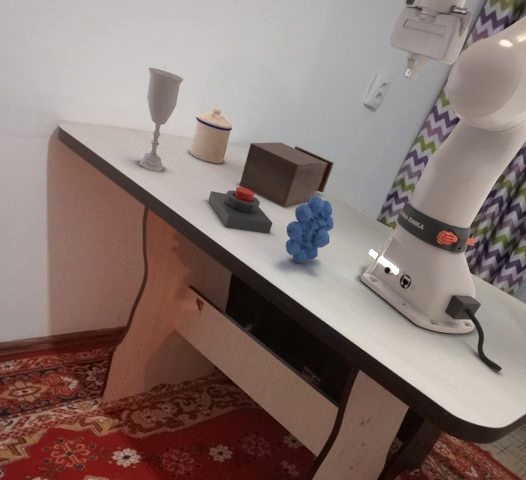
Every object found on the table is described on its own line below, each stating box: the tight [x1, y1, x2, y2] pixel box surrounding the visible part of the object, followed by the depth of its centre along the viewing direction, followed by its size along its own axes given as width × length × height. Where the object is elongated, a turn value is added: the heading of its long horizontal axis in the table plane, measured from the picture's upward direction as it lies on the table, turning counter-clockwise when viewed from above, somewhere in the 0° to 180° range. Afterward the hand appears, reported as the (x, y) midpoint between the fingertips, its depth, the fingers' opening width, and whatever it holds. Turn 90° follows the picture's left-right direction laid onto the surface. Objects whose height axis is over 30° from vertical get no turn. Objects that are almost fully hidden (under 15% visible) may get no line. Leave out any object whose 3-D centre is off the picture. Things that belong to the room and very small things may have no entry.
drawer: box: [293, 146, 335, 193], centre depth 118 cm, size 18×11×8 cm, turn 149°
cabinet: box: [239, 141, 324, 208], centre depth 109 cm, size 15×13×10 cm
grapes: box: [285, 195, 335, 264], centre depth 77 cm, size 12×7×12 cm, turn 136°
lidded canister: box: [190, 107, 233, 164], centre depth 117 cm, size 12×9×12 cm
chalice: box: [139, 67, 184, 172], centre depth 95 cm, size 7×7×18 cm
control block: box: [208, 190, 273, 234], centre depth 89 cm, size 12×9×4 cm
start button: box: [234, 186, 255, 202], centre depth 88 cm, size 4×4×2 cm
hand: (409, 78), depth 102 cm, fingers closed
